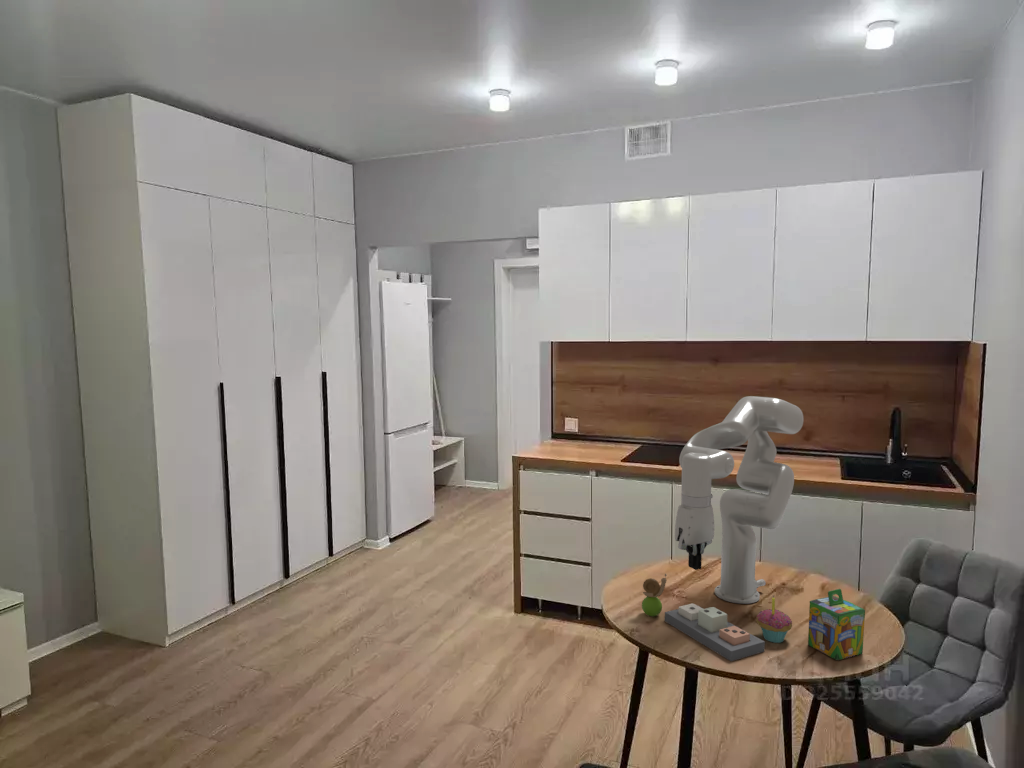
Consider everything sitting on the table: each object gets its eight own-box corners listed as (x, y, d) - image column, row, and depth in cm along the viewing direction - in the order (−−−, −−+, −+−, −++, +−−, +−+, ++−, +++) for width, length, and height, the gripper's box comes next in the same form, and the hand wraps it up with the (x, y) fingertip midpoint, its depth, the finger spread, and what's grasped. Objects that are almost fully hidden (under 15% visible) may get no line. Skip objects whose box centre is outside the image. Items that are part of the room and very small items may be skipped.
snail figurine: (665, 621, 179) (666, 577, 178) (641, 618, 180) (642, 575, 179) (665, 612, 185) (666, 570, 183) (641, 610, 186) (642, 568, 185)
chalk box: (837, 662, 158) (840, 601, 157) (806, 645, 167) (808, 587, 165) (864, 654, 162) (867, 595, 160) (832, 638, 170) (835, 582, 169)
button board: (664, 621, 179) (664, 612, 179) (695, 613, 184) (696, 604, 184) (731, 661, 158) (731, 651, 158) (764, 651, 163) (764, 641, 163)
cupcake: (787, 649, 164) (790, 602, 163) (752, 640, 168) (753, 594, 167) (793, 635, 171) (796, 590, 170) (759, 627, 176) (761, 583, 175)
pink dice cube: (719, 645, 165) (719, 628, 165) (733, 640, 168) (734, 624, 167) (734, 654, 161) (734, 637, 161) (749, 649, 163) (749, 632, 163)
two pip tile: (698, 625, 172) (698, 609, 172) (712, 621, 174) (713, 605, 174) (712, 633, 167) (712, 617, 167) (726, 629, 170) (727, 613, 169)
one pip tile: (678, 621, 179) (678, 605, 178) (692, 617, 181) (693, 602, 181) (691, 628, 174) (691, 613, 174) (705, 624, 177) (706, 609, 176)
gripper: (707, 493, 181) (706, 558, 183) (664, 500, 175) (663, 568, 177) (727, 500, 175) (726, 567, 177) (683, 508, 168) (682, 578, 170)
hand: (694, 567), depth 177 cm, fingers closed
